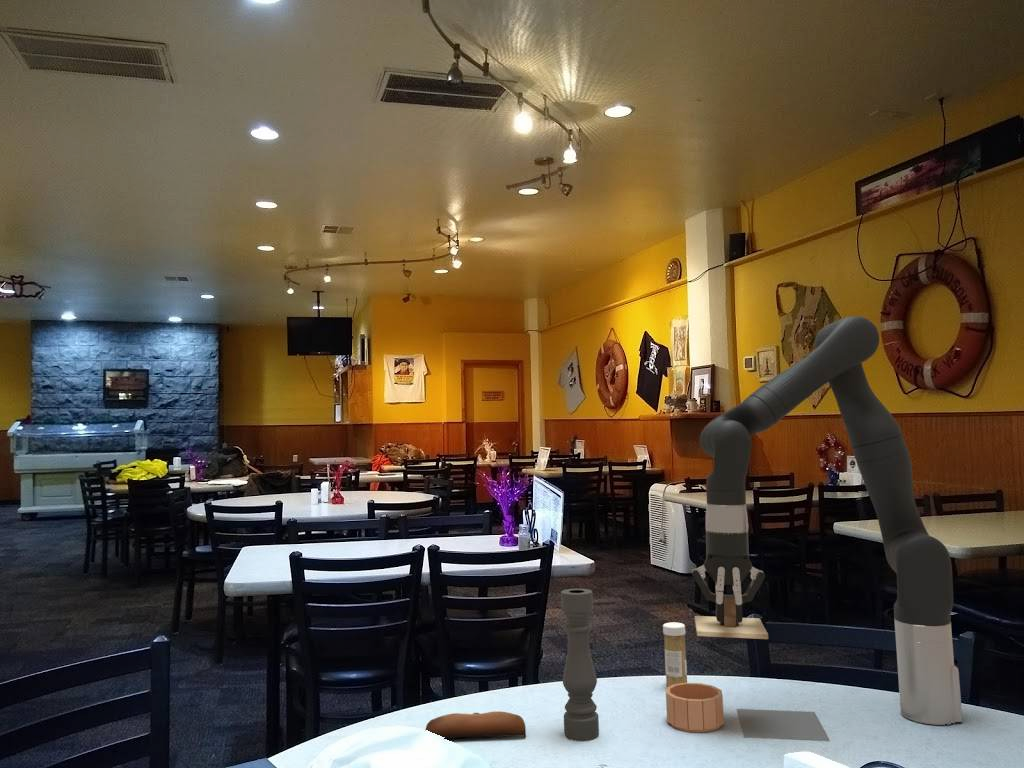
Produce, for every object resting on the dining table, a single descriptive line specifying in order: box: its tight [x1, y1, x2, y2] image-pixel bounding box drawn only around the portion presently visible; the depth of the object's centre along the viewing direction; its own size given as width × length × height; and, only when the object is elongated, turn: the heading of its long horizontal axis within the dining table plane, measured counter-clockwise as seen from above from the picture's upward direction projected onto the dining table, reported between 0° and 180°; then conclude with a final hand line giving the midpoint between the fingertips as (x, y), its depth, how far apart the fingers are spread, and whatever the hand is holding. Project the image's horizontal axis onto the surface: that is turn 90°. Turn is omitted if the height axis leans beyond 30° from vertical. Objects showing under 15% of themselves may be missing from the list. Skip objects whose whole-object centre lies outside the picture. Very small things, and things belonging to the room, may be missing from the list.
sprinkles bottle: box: [662, 621, 688, 689], centre depth 157 cm, size 5×5×13 cm
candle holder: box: [560, 588, 600, 742], centre depth 136 cm, size 6×6×25 cm
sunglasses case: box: [425, 710, 527, 740], centre depth 137 cm, size 18×7×7 cm, turn 92°
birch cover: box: [694, 593, 769, 640], centre depth 138 cm, size 12×12×6 cm
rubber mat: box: [736, 708, 831, 742], centre depth 136 cm, size 14×14×1 cm
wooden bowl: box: [665, 682, 725, 733], centre depth 138 cm, size 10×10×6 cm
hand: (729, 624), depth 138 cm, fingers closed on birch cover
